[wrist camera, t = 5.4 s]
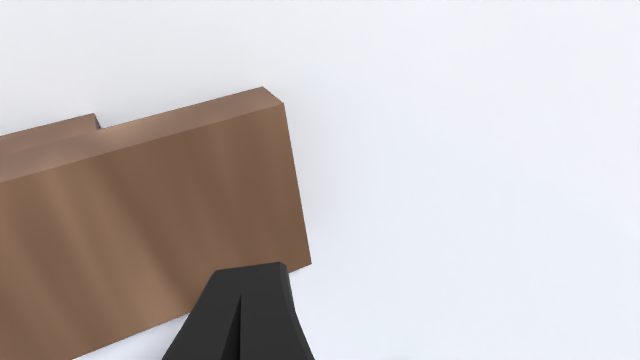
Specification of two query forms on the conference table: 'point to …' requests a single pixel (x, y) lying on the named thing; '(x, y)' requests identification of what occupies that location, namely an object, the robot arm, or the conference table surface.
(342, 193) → the conference table surface
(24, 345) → the brown wooden block
